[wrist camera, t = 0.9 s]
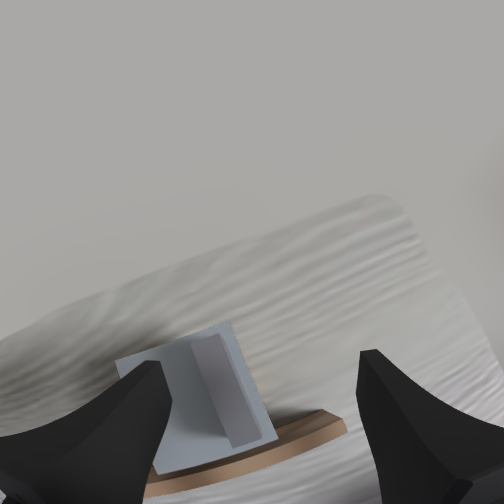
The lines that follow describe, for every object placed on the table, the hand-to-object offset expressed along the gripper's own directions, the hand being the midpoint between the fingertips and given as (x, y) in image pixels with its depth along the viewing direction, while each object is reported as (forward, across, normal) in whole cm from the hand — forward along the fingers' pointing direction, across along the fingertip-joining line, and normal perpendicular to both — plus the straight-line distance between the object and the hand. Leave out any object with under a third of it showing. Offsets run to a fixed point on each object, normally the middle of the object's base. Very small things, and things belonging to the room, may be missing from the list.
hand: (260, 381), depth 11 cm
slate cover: (+6, +5, +6) cm, 10 cm away
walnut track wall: (+6, +6, +14) cm, 16 cm away
